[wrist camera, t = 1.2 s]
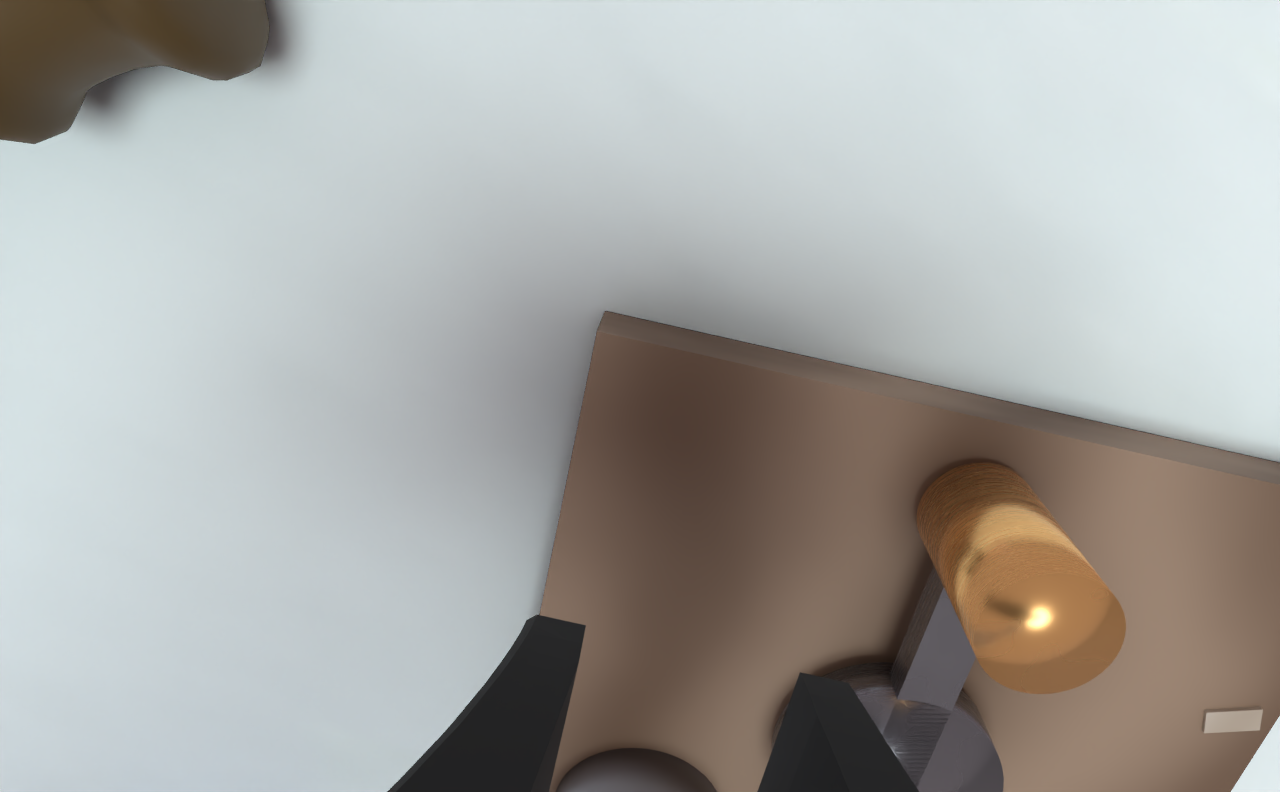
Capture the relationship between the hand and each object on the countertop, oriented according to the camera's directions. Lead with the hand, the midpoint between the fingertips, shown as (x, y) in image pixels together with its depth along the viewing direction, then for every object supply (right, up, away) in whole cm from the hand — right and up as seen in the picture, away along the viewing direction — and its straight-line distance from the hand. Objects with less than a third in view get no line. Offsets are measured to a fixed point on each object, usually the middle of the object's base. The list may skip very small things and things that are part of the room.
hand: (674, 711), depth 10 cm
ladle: (+6, -2, +9) cm, 11 cm away
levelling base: (+5, -4, +11) cm, 13 cm away
